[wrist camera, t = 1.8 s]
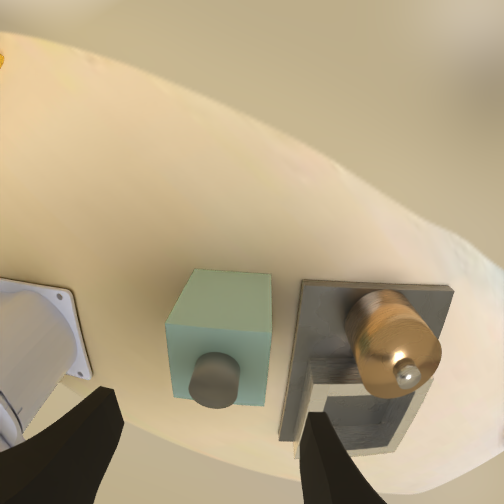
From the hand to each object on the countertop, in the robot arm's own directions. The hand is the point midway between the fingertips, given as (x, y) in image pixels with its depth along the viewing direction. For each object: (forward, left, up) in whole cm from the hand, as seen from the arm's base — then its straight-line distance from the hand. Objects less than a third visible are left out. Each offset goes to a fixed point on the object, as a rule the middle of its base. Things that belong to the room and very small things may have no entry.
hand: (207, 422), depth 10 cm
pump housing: (0, 0, -9) cm, 9 cm away
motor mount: (+9, -5, -9) cm, 14 cm away
